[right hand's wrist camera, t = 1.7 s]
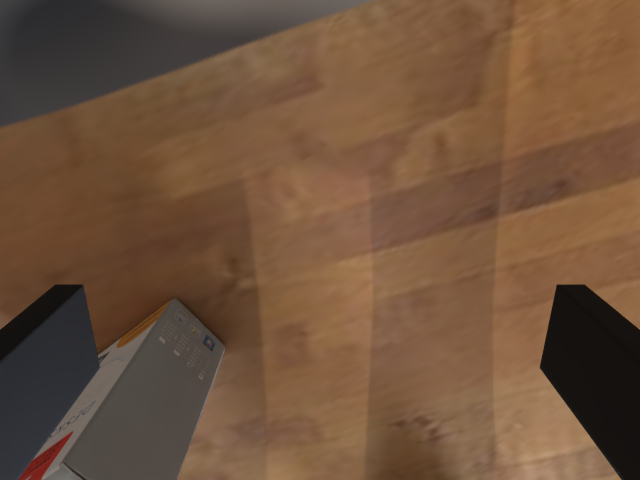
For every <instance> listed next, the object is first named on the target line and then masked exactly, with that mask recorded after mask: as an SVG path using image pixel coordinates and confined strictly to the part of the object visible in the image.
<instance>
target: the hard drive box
mask: <svg viewBox="0 0 640 480" xmlns="http://www.w3.org/2000/svg"><path fill="white" fill-rule="evenodd" d="M224 352H225V346H224V345H223V344H222V343H221V342H220V341H219V340H218V338H216V337H215V336H214V335H213V334H212V333H211V332H210V331H209V330H208V329H207V328H206V327H205V326H204V325H203V324H202V323H201V322H200V321H199V320H198V319H197V318H196V317H195V316H194V315H193V314H192V313H191V312H190V311H189V310H188V309H187V308H186V307H185V306H184V305H183V304H182V303H181V302H180V301H179V300H177V299H176V298H173V299H171V300H170V301H169V302H167V303H166V304H165V305H163V306H162V307H161V308H159V309H158V310H157V311H155V312H154V313H152V314H151V315H150V316H149V317H147V318H146V319H145V320H143V321H142V322H141V323H140V324H138V325H137V326H136V327H135V328H133V329H132V330H130V331H129V332H128V333H127V334H125V335H124V336H123V337H122V338H120V339H119V340H117V341H116V342H115V343H113V344H112V345H111V346H110V347H108V348H107V349H106V350H104V351H103V352H102V353H100V354H99V355H98V359H99V364H100V369H99V370H98V371H97V373H96V374H95V376H94V377H93V378H92V380H91V381H90V382H89V384H88V385H87V386H86V388H85V389H84V391H83V392H82V393H81V395H80V396H79V397H78V399H77V400H76V401H75V403H74V404H73V406H72V407H71V408H70V410H69V411H68V412H67V414H66V415H65V416H64V418H63V419H62V421H61V422H60V423H59V425H58V426H57V427H56V429H55V430H54V431H53V433H52V434H51V436H50V437H49V438H48V440H47V441H46V442H45V444H44V445H43V447H42V448H41V449H40V451H39V452H38V453H37V455H36V456H35V457H34V459H33V460H32V462H31V463H30V464H29V466H28V467H27V468H26V470H25V471H24V472H23V474H22V475H21V477H20V478H19V479H18V480H177V479H178V476H179V473H180V471H181V468H182V465H183V462H184V460H185V457H186V454H187V452H188V449H189V446H190V444H191V441H192V438H193V436H194V433H195V430H196V428H197V425H198V422H199V420H200V417H201V414H202V411H203V409H204V406H205V403H206V401H207V398H208V395H209V393H210V390H211V387H212V385H213V382H214V379H215V377H216V374H217V371H218V369H219V366H220V363H221V361H222V358H223V355H224Z"/></svg>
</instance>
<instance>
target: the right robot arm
mask: <svg viewBox="0 0 640 480" xmlns="http://www.w3.org/2000/svg"><path fill="white" fill-rule="evenodd" d="M99 369H100V364H99V359H98V355H97V350H96V345H95V340H94V335H93V330H92V325H91V321H90V316H89V311H88V306H87V301H86V296H85V292H84V287H83V285H54V286H53V287H52V288H51V289H50V290H48V291H47V292H46V293H45V294H43V295H42V296H41V297H40V298H39V299H37V300H36V301H35V302H34V303H32V304H31V305H30V306H29V307H28V308H26V309H25V310H24V311H23V312H21V313H20V314H19V315H18V316H17V317H15V318H14V319H13V320H12V321H10V322H9V323H8V324H7V325H6V326H4V327H3V328H2V329H1V330H0V480H18V479H19V478H20V477H21V475H22V474H23V472H24V471H25V470H26V468H27V467H28V466H29V464H30V463H31V462H32V460H33V459H34V457H35V456H36V455H37V453H38V452H39V451H40V449H41V448H42V447H43V445H44V444H45V442H46V441H47V440H48V438H49V437H50V436H51V434H52V433H53V431H54V430H55V429H56V427H57V426H58V425H59V423H60V422H61V421H62V419H63V418H64V416H65V415H66V414H67V412H68V411H69V410H70V408H71V407H72V406H73V404H74V403H75V401H76V400H77V399H78V397H79V396H80V395H81V393H82V392H83V391H84V389H85V388H86V386H87V385H88V384H89V382H90V381H91V380H92V378H93V377H94V376H95V374H96V373H97V371H98V370H99ZM540 369H541V370H542V371H543V373H544V374H545V376H546V377H547V378H548V380H549V381H550V382H551V384H552V385H553V386H554V388H555V389H556V391H557V392H558V393H559V395H560V396H561V397H562V399H563V400H564V401H565V403H566V404H567V406H568V407H569V408H570V410H571V411H572V412H573V414H574V415H575V416H576V418H577V419H578V421H579V422H580V423H581V425H582V426H583V427H584V429H585V430H586V431H587V433H588V434H589V436H590V437H591V438H592V440H593V441H594V442H595V444H596V445H597V447H598V448H599V449H600V451H601V452H602V453H603V455H604V456H605V457H606V459H607V460H608V462H609V463H610V464H611V466H612V467H613V468H614V470H615V471H616V472H617V474H618V475H619V477H620V478H621V479H622V480H640V330H639V329H638V328H637V327H636V326H634V325H633V324H632V323H631V322H630V321H628V320H627V319H626V318H625V317H623V316H622V315H621V314H620V313H619V312H617V311H616V310H615V309H614V308H612V307H611V306H610V305H609V304H608V303H606V302H605V301H604V300H603V299H601V298H600V297H599V296H598V295H597V294H595V293H594V292H593V291H592V290H590V289H589V288H588V287H587V286H586V285H557V287H556V292H555V296H554V301H553V306H552V311H551V316H550V321H549V325H548V330H547V335H546V340H545V345H544V350H543V355H542V359H541V364H540Z"/></svg>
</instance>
